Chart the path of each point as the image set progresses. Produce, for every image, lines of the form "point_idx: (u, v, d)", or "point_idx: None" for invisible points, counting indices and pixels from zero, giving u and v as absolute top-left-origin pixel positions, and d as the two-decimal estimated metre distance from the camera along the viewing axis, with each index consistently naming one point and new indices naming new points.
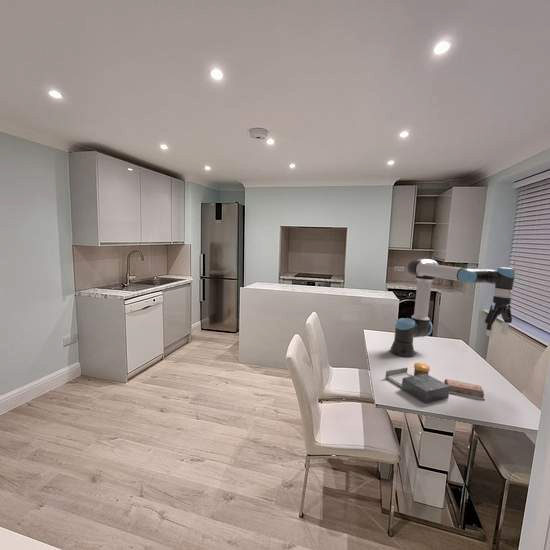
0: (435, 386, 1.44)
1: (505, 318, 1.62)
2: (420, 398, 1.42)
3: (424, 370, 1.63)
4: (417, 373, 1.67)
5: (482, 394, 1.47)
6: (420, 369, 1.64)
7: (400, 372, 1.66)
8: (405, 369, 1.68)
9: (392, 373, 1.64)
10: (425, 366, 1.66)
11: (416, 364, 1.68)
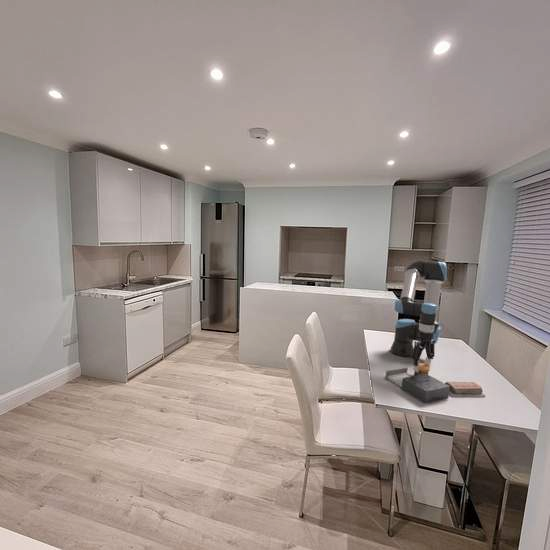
0: (435, 386, 1.44)
1: (428, 353, 1.67)
2: (420, 398, 1.42)
3: (424, 370, 1.63)
4: (417, 373, 1.67)
5: (481, 391, 1.51)
6: (420, 369, 1.64)
7: (400, 372, 1.66)
8: (405, 369, 1.68)
9: (392, 373, 1.64)
10: (425, 366, 1.66)
11: None
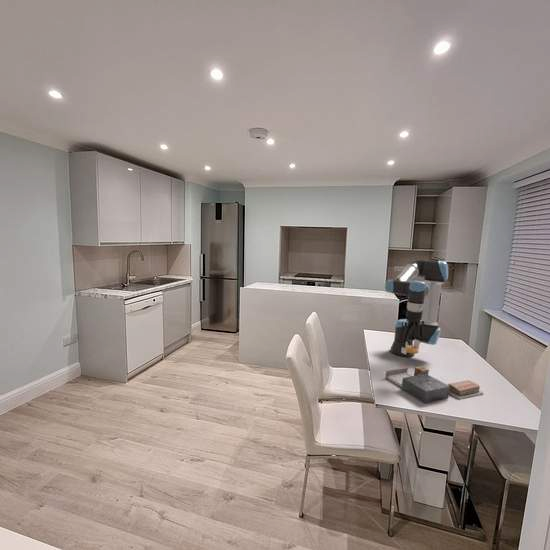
0: (435, 386, 1.44)
1: (417, 335, 1.58)
2: (420, 398, 1.42)
3: (412, 352, 1.53)
4: (417, 373, 1.67)
5: (479, 388, 1.53)
6: (408, 351, 1.54)
7: (400, 372, 1.66)
8: (405, 369, 1.68)
9: (392, 373, 1.64)
10: (414, 348, 1.56)
11: None
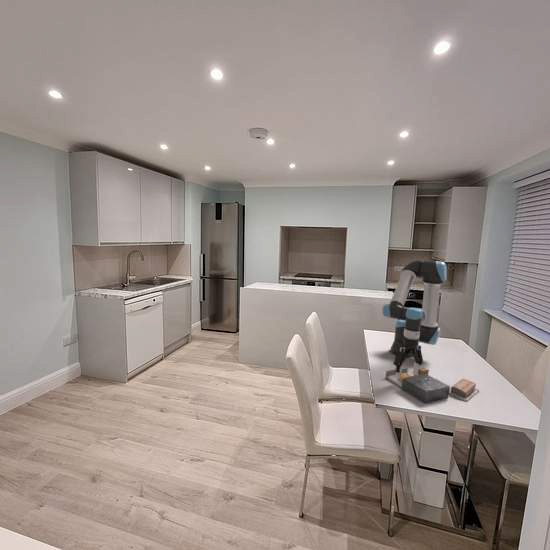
0: (435, 386, 1.44)
1: (416, 359, 1.60)
2: (420, 398, 1.42)
3: None
4: None
5: None
6: None
7: None
8: (405, 369, 1.68)
9: (392, 373, 1.64)
10: None
11: (401, 376, 1.61)
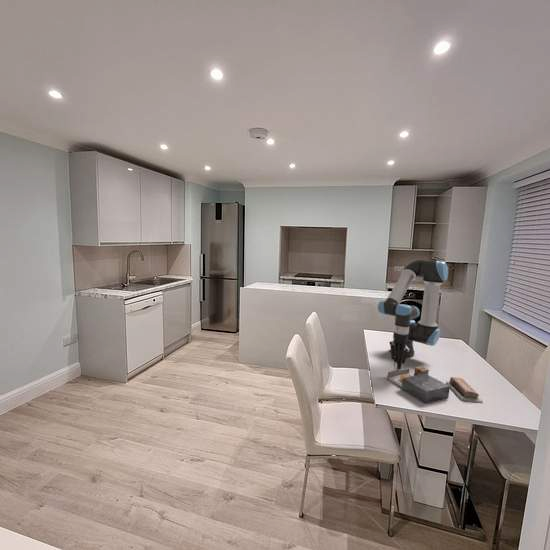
0: (435, 386, 1.44)
1: None
2: (420, 398, 1.42)
3: None
4: (417, 373, 1.67)
5: None
6: None
7: (402, 373, 1.65)
8: (407, 370, 1.67)
9: (394, 374, 1.63)
10: None
11: (402, 377, 1.60)
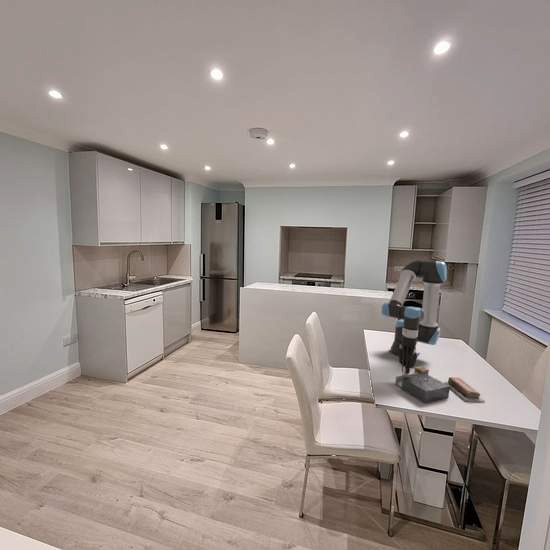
0: (435, 386, 1.44)
1: None
2: (420, 398, 1.42)
3: None
4: None
5: None
6: None
7: None
8: (415, 374, 1.61)
9: (402, 379, 1.57)
10: None
11: None
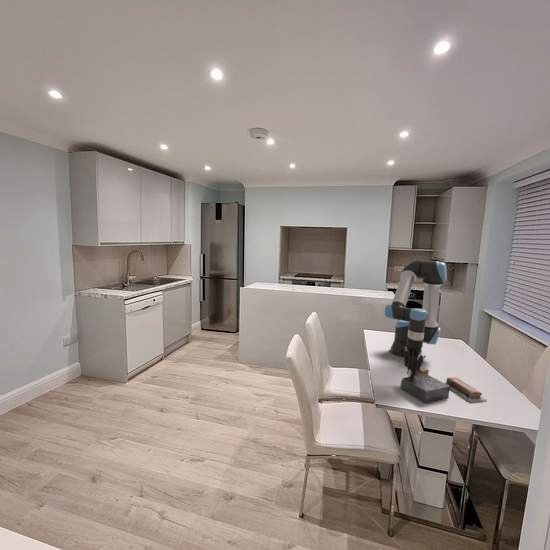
0: (435, 386, 1.44)
1: None
2: (420, 398, 1.42)
3: None
4: (417, 373, 1.67)
5: None
6: None
7: None
8: None
9: None
10: None
11: None
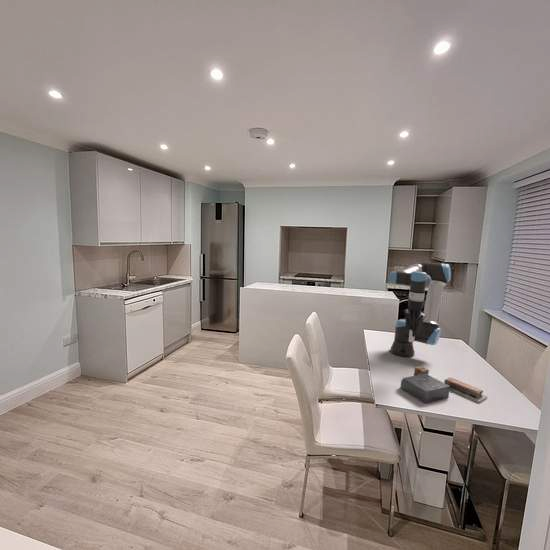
0: (435, 386, 1.44)
1: None
2: (420, 398, 1.42)
3: None
4: (417, 373, 1.67)
5: None
6: None
7: None
8: None
9: None
10: None
11: None
